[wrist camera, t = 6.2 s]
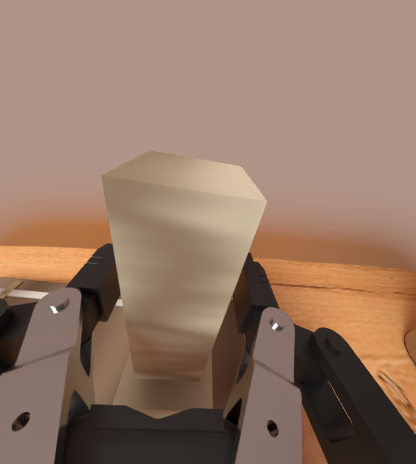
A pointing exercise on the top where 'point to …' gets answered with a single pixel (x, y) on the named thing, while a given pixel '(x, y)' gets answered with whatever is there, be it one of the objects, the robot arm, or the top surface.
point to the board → (117, 344)
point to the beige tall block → (176, 271)
